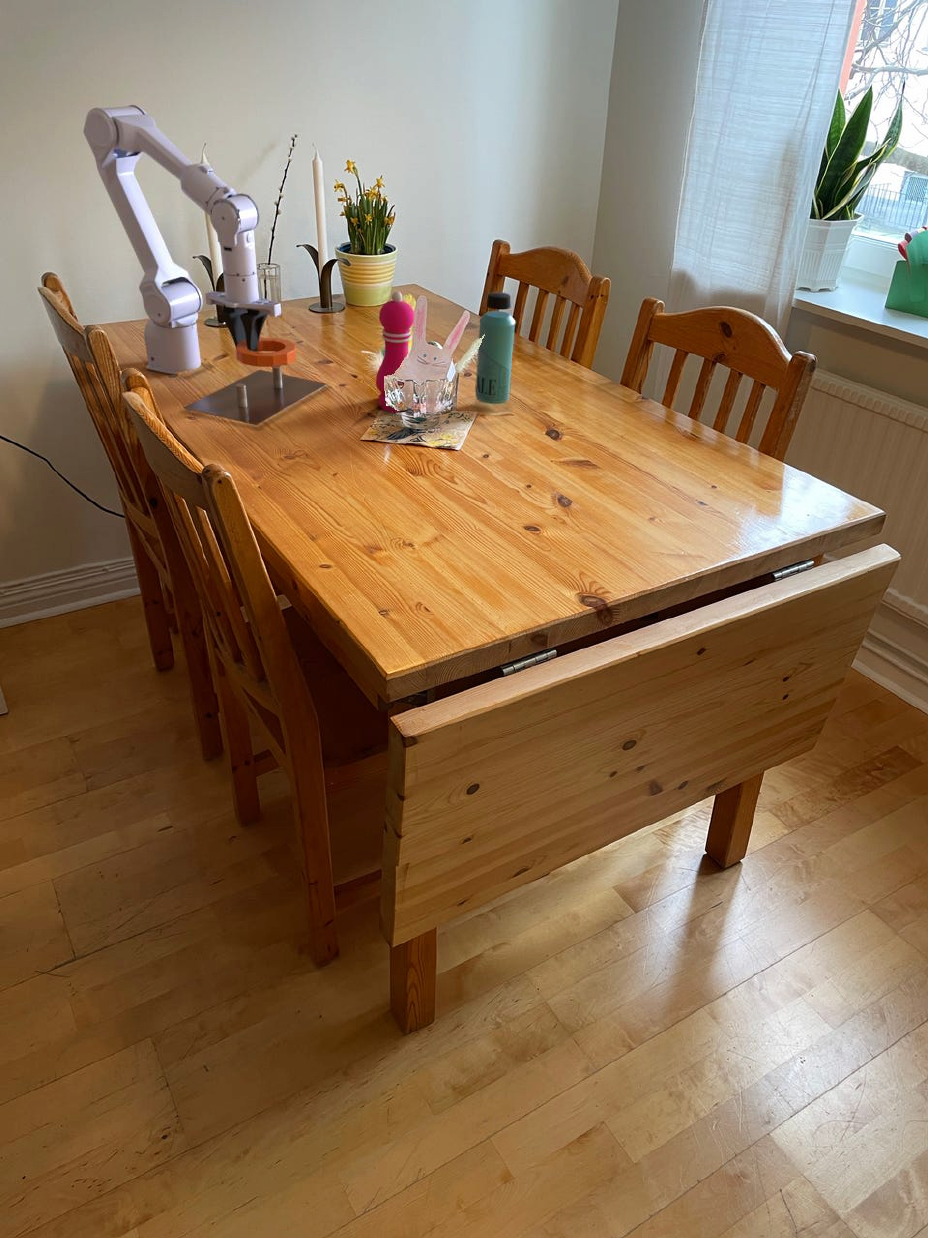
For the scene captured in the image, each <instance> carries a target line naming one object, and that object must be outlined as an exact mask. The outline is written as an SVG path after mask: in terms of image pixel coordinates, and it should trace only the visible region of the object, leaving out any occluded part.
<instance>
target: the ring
mask: <svg viewBox="0 0 928 1238" xmlns="http://www.w3.org/2000/svg"><path fill="white" fill-rule="evenodd" d="M235 354H236V360H237V361H238V362H240V363H241V364H243V365H246V366H252V367H257V368H272V367H275V366H281V367H282V366H286V365H289V364H291V363H293V362H295V361H296V360H297V345H296V343H294V342H292V341H291V340H288V339H283V338H279V337H260V338H259V344H258V350H257V351H255V352H254V351H250V350H249V349H247V344H246V340H245V341H243V342H240V343H238V344H237V347H235Z"/></svg>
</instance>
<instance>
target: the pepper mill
mask: <svg viewBox="0 0 928 1238" xmlns="http://www.w3.org/2000/svg"><path fill="white" fill-rule="evenodd" d="M378 314H379V315H378V319H379V322H380V325H381V326H382V327H383V328H382V330H381V333H382V335H381V339H383V340H384V355H383V359H382V361H381V364H380V366H379V368H378V370H377V373H376V377H375V386H376V388H377V390H378V391H379V392H380V394H379V395H378V404H379V405H378V407H379V408H380V409H382V410H383V411H386V412H390V413H391V412H392V413H401V412H400V411H397V410H395V409H394V408H392V407H390V406H386V401H385V391H384V376H387V375H392V374H394V373H395V371H396V370H397V369H398V368H399V367H400V365H401V363H402V361H403V360H404V358H405V357H406V356H407V354H409V342H410V341H411V340H412V336H411V335H412V330H411V328H412V326H413V325H414V323H415V312H414V309H413V307H412V306H411V305H410V304H409V303H408V302H407V301H404V300H403V295H402V293H401V291H398V290H397V291H393V293H392V294H391V300H389V301H386V302H385V303H384V304H383V305H381V307H380V310H379V312H378Z"/></svg>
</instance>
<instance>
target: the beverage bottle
mask: <svg viewBox="0 0 928 1238" xmlns="http://www.w3.org/2000/svg"><path fill="white" fill-rule="evenodd" d="M511 306H512V305H511V295H510V293H506V292H501V291H493V292H489V293H488V294H487V299H486V308H489V309H492V310H491V311H487V312H485V313H484V314H483V315H482V316H481V317H480V318H479V331H478V338H477V341H478V340H479V339H480V338H482V336H483V335H484V334H485V336H484V338H483V339H482V343H481V345H480V347H479V349H478V348H477V355H476V357H477V362H476V373H475V383H474V384H475V386H474V389H475V391H474V392H475V393H474V394H475V398H476V400H477V401H479V402H481V403H484V404H488V405H489V404H490V405H500V404H505V403H507V402H508V401H509V399H510V395H511V386H512V372H513V369H512V368H513V366H512V365H513V349H514V338H515V327H516V320H515V318H513V316H512V315H511V314H510V313H508V312H507V311H505V310H510V308H511ZM502 310H504V311H502Z"/></svg>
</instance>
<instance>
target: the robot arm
mask: <svg viewBox="0 0 928 1238" xmlns="http://www.w3.org/2000/svg"><path fill="white" fill-rule="evenodd" d="M82 132H83V135H84V137H85V139H86V141H87V143H88V146H89V148H90V150H91V152H92V155H93V157H94V160H95V164H96V169H97V172H98V175H99V177H100V179H101V181H102V183H103V185H104V188H105V191H106V192H107V194H108V196H109V199H110V201H111V203H112V205H113V207H114V209H115V212H116V214H117V216H118V218H119V220H120V222H121V224H122V227H123V229H124V231H125V233H126V235H127V237H128V240H129V243H130V244H131V246H132V248H133V251H134V253H135V256H136V257H137V259H138V262H139V264H140V266H141V268H142V270H143V272H144V274H143V277H142V279H141V281H140V283H139V286H138V289H139V292H140V294H141V296H142V301H143V307H144V311H145V313H146V315H147V317H148V319H149V320H148V321H147V322H146V324H145V326H144V331H143V338H144V345H145V350H146V357H147V365H146V366H145V369H146V370H150V371H154V372H159V373H164V374H168V375H174V374H176V373H179V372H187V371H188V372H189V371H193V370H197V369H199V368H200V367H201V366H202V360H201V351H200V343H199V335H198V327H197V326H198V325H197V320H198V319H199V315H198V313H200V312H201V310H202V308H203V304H204V302H203V301H204V300H203V295H202V292H201V290H200V289H199V287H198V286H197V284H196V283H194V282H193V279H192V278H191V276H190V275H189V272H188V271H187V270H186V269H185V268H183V267H181V266H180V265H178V264H176V263H175V262H174V261H173V258H172V256H171V254H170V252H169V250H168V247H167V245H166V242H165V241H164V238H163V236H162V234H161V232H160V230H159V227H158V225H157V222H156V220H155V218H154V216H153V214H152V211H151V209H150V207H149V204H148V202H147V200H146V198H145V196H144V193H143V191H142V189H141V186H140V184H139V182H138V180H137V178H136V175H135V173H134V171H135V167H136V164H137V163H138V162H139V160H140V159H141V157H142V155H143V154H146V155H147V156H148V157H149V158H151V159H152V160H153V161H155V162H156V163H157V164H159V165H160V166H161V167H162V168H163V169H165V170H166V171H167V172H168V173H170V174H171V175H172V176H174V177H175V178H176V179H178V180H179V182H180V188H181V189H180V190H181V191H182V193H183V194H184V195H186V196H187V198H189V199H190V200H191V201H192V202H193V203H194V204H195V205H197V206H198V207H199V208H200V209H201V210H202V211H203V212H205V213H206V214H207V215H208V217H209V220H210V224H211V226H212V228H213V229H214V231H215V232H216V236H217V242H218V243H219V246H220V253H221V263H222V274H223V275H222V276H223V284H224V292H223V291H214V290H210V291H208V292H205V293H204V296H205V303H206V305H209V306H212V305H216V306H221V307H223V308H222V310H220V311H219V317H220V318H221V319H222V320H223V322H224V324H225V325H226V327H227V329H228V331H229V333H230V336H231V338H232V341H233V343H234V347H235V348H236V347H237V344H238V343H240V342H243V341H245V340H246V344H247V349H249V350H250V351H254V352H255V351H257V350H258V344H259V338H261V333H262V330H263V327H264V324H265V321H266V320H267V318H268V316H270V317H272V318H275V317H278V316H281V315H282V306H281V305H282V304H281V303H279V302H276V301H272V300H269V299H267V298H265V297H261V296H260V295H259V281H258V268H257V267H258V266H257V256H256V243H255V242H256V241H255V231H254V230H255V229H256V228H257V227H258V225H259V224H260V217H261V216H260V215H261V214H260V210H259V207H258V205H257V203H256V202H255V200H254V199H253V198H252V197H251V195H250V194H247V193H242V192H241V193H238V192H237V191H235V189H234V188H233V187H232V186H231V185H227V184H226V183H225V182H224V181H223V180H222V179H221V178H220V177H219V176H217V175H216V174H215V173H214V168H212V167H211V166H210V165H209V164H203V163H194V164H193V163H192V161H191V160H190V159H188V157H187V156H186V155H185V154H184V153H183V152H182V151H181V150H180V149H179V148H178V147H177V146H175V144H174V143H173V142H172V141H171V140H169V138H168V137H167V136H166V135H165V134H164V133H163V132H162V131H161V130H160V129H159V128H158V127H157V124H156V121H155V118H154V117H153V116H151V115H150V114H148V113H147V112H146V111H145V110H144V109H143V108H142V107H141V106H139V105H137V104H130V105H127V106H117V107H116V106H114V107H103V108H102V107H93V108H91V109H90V110H89V111H88V112H87V114H86V117H85V122H84V127H83V131H82ZM166 284H167V285H166ZM162 285H164V286H162Z"/></svg>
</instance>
